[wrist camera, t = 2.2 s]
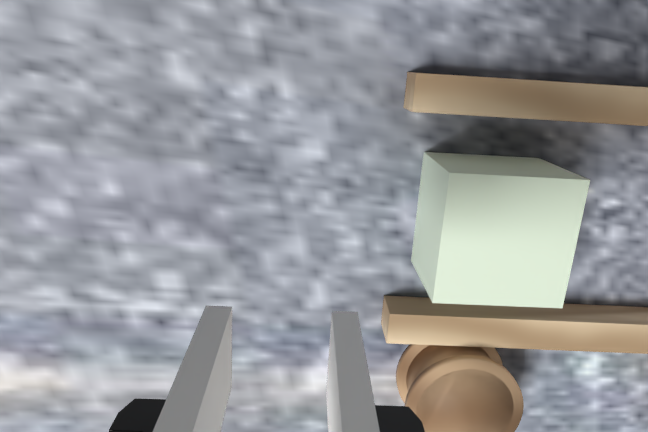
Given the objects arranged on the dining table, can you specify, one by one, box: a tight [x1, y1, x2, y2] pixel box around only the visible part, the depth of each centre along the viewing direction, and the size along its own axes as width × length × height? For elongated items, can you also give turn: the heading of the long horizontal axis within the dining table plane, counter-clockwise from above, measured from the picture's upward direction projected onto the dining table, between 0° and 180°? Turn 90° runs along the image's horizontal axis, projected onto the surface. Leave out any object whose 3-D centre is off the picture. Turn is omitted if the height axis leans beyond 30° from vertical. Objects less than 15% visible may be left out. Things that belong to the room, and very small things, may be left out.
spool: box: [396, 344, 523, 432], centre depth 33 cm, size 7×7×4 cm
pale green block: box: [411, 152, 590, 308], centre depth 29 cm, size 7×7×6 cm
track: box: [381, 72, 648, 354], centre depth 29 cm, size 16×28×5 cm, turn 87°
